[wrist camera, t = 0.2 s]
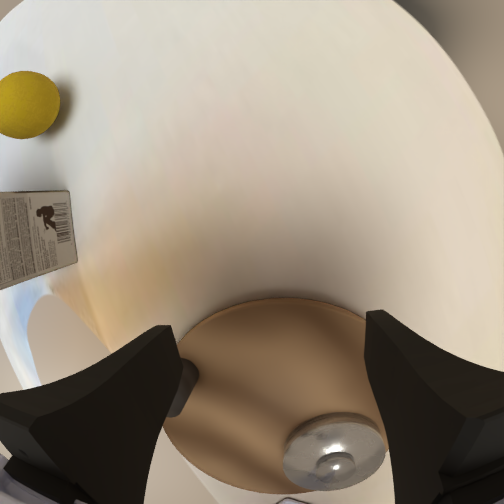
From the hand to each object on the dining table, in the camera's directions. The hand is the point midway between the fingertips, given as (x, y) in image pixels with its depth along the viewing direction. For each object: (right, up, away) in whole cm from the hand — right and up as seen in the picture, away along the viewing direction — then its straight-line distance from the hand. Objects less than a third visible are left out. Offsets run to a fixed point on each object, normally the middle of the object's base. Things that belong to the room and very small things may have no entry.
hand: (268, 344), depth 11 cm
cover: (+6, -12, +10) cm, 17 cm away
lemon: (-18, +15, +10) cm, 26 cm away
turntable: (+2, -9, +12) cm, 15 cm away
